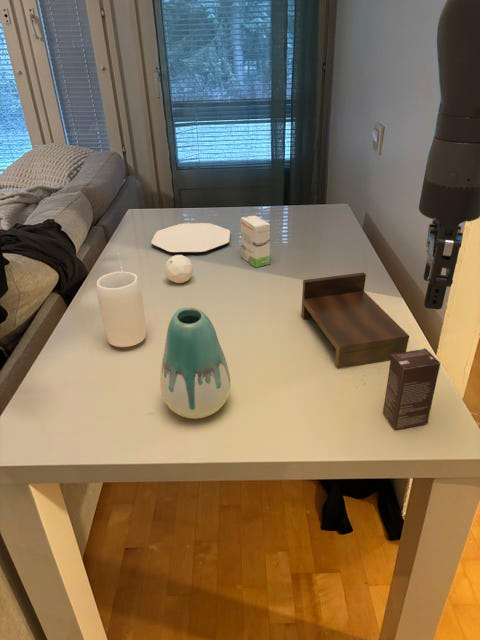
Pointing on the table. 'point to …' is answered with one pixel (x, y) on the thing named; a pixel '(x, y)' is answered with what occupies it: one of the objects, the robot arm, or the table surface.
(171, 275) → the ornament
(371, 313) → the rack
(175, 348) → the vase
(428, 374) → the box
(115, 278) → the cup
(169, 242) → the plate
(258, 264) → the ink box
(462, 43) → the robot arm
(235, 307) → the table surface
